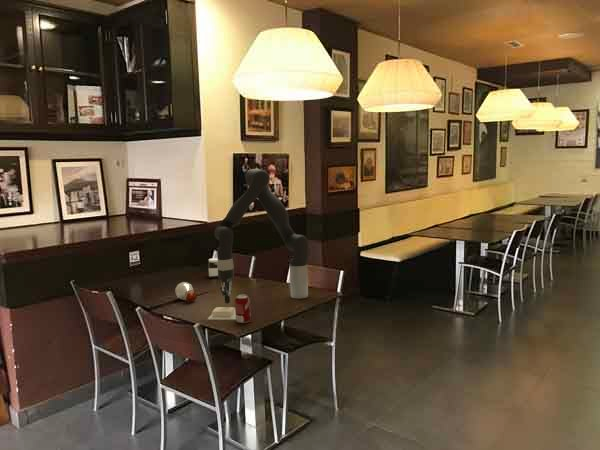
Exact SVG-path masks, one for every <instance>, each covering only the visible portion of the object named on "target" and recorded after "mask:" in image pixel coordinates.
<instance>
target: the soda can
mask: <svg viewBox="0 0 600 450" xmlns="http://www.w3.org/2000/svg"><path fill="white" fill-rule="evenodd" d="M234 308H235V313H236V320H235V322H236V323H239V324H247V323H249V322H251V320H252V315H251V299H250V297H249V295H248V294H239V295H236V296H235V300H234Z"/></svg>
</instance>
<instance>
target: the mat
mask: <svg viewBox="0 0 600 450" xmlns="http://www.w3.org/2000/svg"><path fill="white" fill-rule="evenodd" d="M234 309H235V307H234ZM207 321H236V313H235V312H234V314H233V315H232V316H231V317H224V316H212V314H211V315H209V316H208V318H207Z"/></svg>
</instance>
